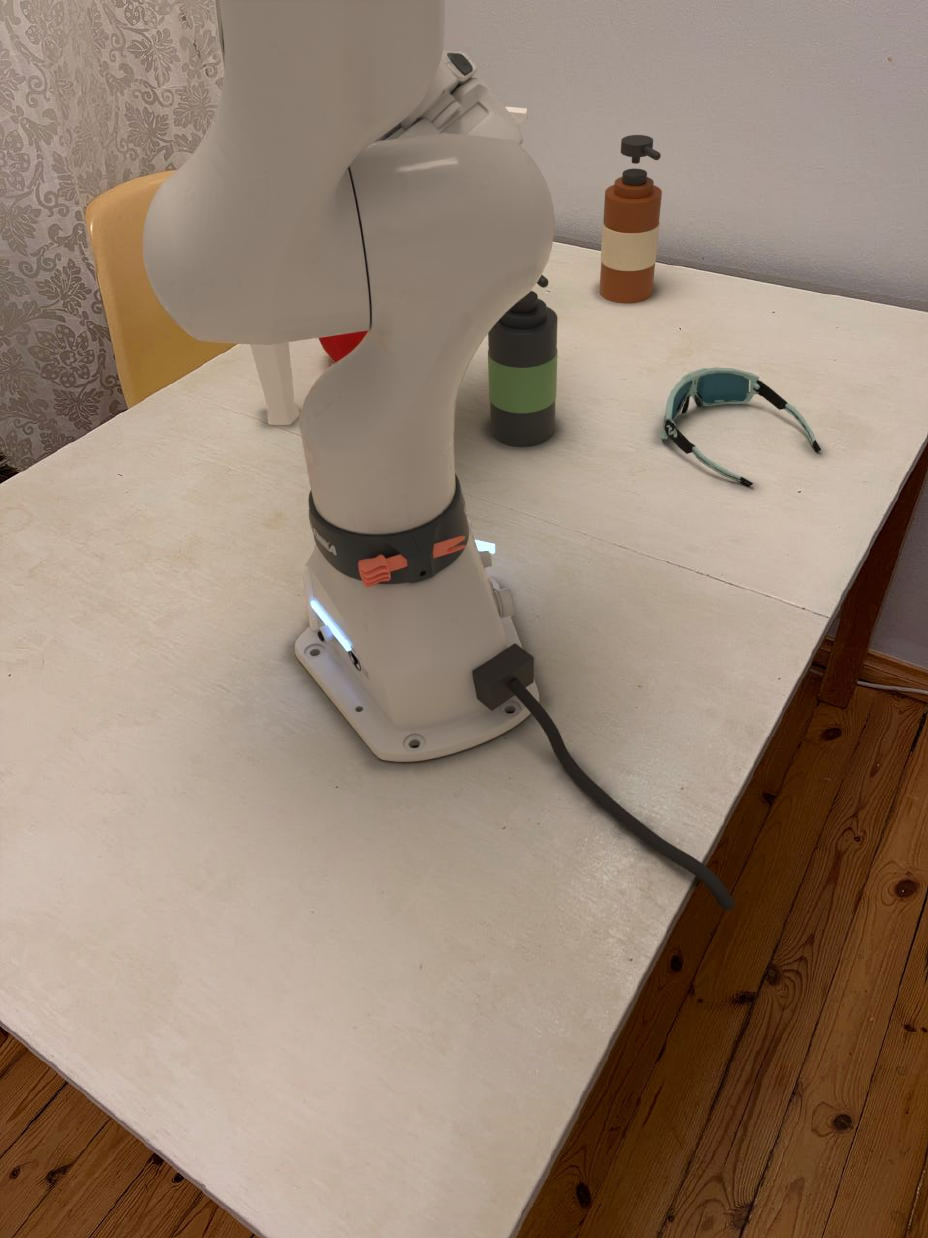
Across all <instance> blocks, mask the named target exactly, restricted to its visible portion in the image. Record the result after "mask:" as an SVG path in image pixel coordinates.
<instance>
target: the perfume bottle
mask: <svg viewBox="0 0 928 1238" xmlns="http://www.w3.org/2000/svg"><path fill="white" fill-rule="evenodd" d="M249 345H250V349H251V352H252V356H253V359H254V364H255V367H256V370H257V375H258V378H259V381H260V384H261V388H262V392H263V396H264V399H265V403H266V406H267V407H266V418H267V424H268V425H270V426H290V425H292V424H293V423H294V422H295V421H296V420H297V419H298V418H300V413H301V411H300V410H299V408H298V406H297V404H296V402H295V392H294V384H293V383H294V382H293V372H292V371H293V370H292V363H291V352H290V342H287V343H280V344H273V345H259V344H249Z"/></svg>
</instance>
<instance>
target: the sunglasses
mask: <svg viewBox="0 0 928 1238" xmlns="http://www.w3.org/2000/svg"><path fill="white" fill-rule="evenodd" d="M759 379H760V376H758V375H756V374H754V373H752V372H749V371H745V370H741V369H736V368H733V367H732V368H731V367H730V368H729V367H718V366H717V367H715V366H714V367H708V368H706V367H703V368H700V369H697V370H696V369H695V370H693V371H691V372H688V373H687V374H685V375H683V376H682V377H681V379H680V380H678V382H676V384H675V385H674V387H673V388H672V389H671V391H670V392H669V395H668V397H667V401H666V404H665V405H666V406H665V413H664V419H663V425H662V431H661V436H660V439H661V440H668V438H669V439H670V441H672V443H674V444H675V445H676V446H677V447H678V448H679V449H680V450H681V451H683V452H684V454H685V455H688V454H692V455H694V457H695V458H696V459H697V460H698V461H699V462H700V463H702V464H703V465H705V466H706V467H707V468H709V469H711V470H712V471H714V472H716V473H717V474H719V475H721V476H723V477H725V478H727V479H730V480H732V481H735V482H737V483H739V484H741V485H743V486H745V487H747V488H749V487H751V486H753V485H754V482H753V481H750V480H749V479H747V478H745V477H743V476H740V475H739V474H736V473H734V472H732V471H730V470H728V469H726V468H725V467H722V466H720V465H719V464H717V463H716V462H715V461H713V460H711V459H710V458H708V457H707V456H706V455H705V454H703V453H702V452H701V451H700V450H699V448H698V446H697V445H695V444H694V443H692V442H691V441H690V440H689V439H688V438H687V437H686V436H685V435H684V434H683V433H682V432H681V431H680V430H679V429H678V428H677V427H676V426H677V424H676V423H675V421H676V419H677V417H678V415H679V414H682V415H685V414H687V413H688V410H689V406H690V398H691V397H692V399H693V402H694V403H695V405H696V407H697V408H698V407H699V408H701V407H702V406H704V407H707V408H708V407H714V406H721V405H745V404H747V403H748V402H751V400H752V399H753V398H754V396H755V395H758V396H760V397H762V398H764V399H765V401H767V402H769V403H770V404H771V405H772V406H773V407H775V408H776V409H778V410H779V411H781V410H783V411H785V412H786V413H788V414H789V415H791V416H792V417H793V418H794V419H795V420H796V421H797V423H798V424H799V425H800V426H801V427H802V429H803V431H804V432H805V434H806V436H807V437H808V440H809V442H810V444H811V446H812V448H813V450H814V451H815V453H818V452H820V451H822V447H820V445H819V443H818V442H817V440H816V437H815V433H814V432H813V430H812V428H811V427H810V425H809V424H808V422H807V421H806V419H805V417H804V416H803V415H802V414H801V413H800V412H799V411H798V409H797V408H796V407H794V406H793V405H792V404H790V403H789V402H788V401H786V400H785V399H784V398H783V397H782V396H781V395H779V394H778V393H777V392H776V391H775V390H774V389H773V388H771V387H770V386H769V385H767V384H766V383H765V382H763V381H762V380H759Z"/></svg>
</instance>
